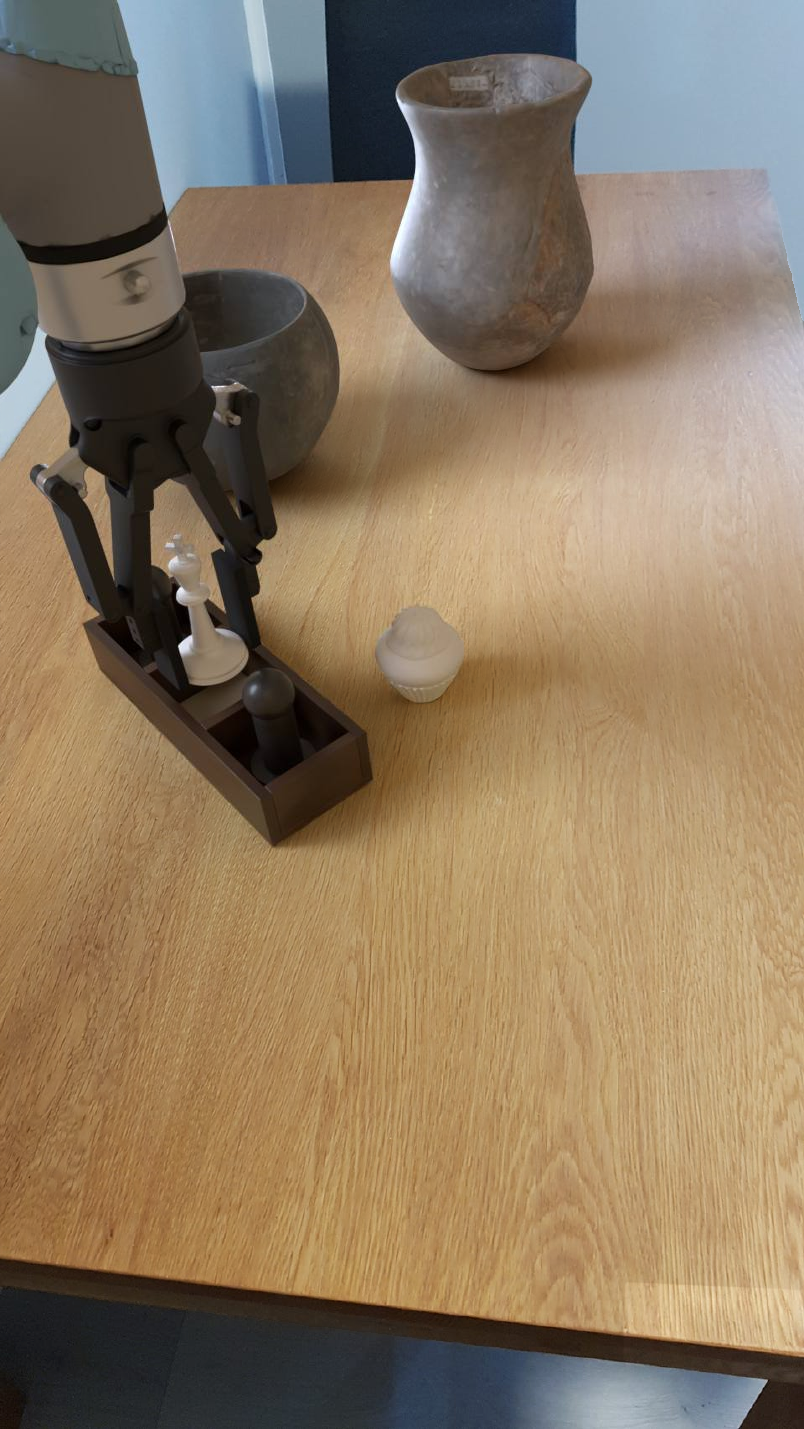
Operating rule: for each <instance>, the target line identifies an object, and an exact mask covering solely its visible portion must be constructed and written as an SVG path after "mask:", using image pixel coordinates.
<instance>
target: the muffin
mask: <svg viewBox="0 0 804 1429" xmlns="http://www.w3.org/2000/svg"><path fill="white" fill-rule="evenodd" d="M374 656H375V661H376V664H377V666H378V668H379V670H380V671H381V672H382V675H383V677H384V678H386V681H387V682H388V683H389V684H390V685H391V686H392V687H393V688H394V689H395V690H396V691H397V692H398V693H399V694H400V695H401V696H402V697H404V699H405V700H409V701H410V702H414V703H418V704H425V703H429V702H434V701H435V700H437V699H438V698H441V697H442V696H443V694H444V693H445V692H446V691H447V689H448V688H449V686H450V685H451V683H452V681H453V680H454V679H455V677H456V676H457V675H458V673H459V670H460V668H461V665H462V663H463V661H464V657H465V645H464V640H463V639H462V636H461V634H460V633H459V631H458V630H457V629H456V628H455V626H453V625H451V624H450V623H448V622H447V621H445V620H444V617H442V615H441V614H440V613H439V612H438V610H436V609H434V608H432V607H430V606H428V605H420V604H416V605H415V606H413V605H409V606H408V607H407V608H402V609H401V610H400V612H397V613H396V614H395V615H394V619H393V620H392V621H391V623H390V626H388V627H386V629H385V630H384V631H383V632H382V633H381V634H380V636H379V637H378V640H377V642H376V645H375V649H374Z"/></svg>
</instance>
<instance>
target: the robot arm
mask: <svg viewBox="0 0 804 1429" xmlns="http://www.w3.org/2000/svg"><path fill="white" fill-rule="evenodd" d="M138 74H140V72H139V67H138V63H137V61H136V60H135V58H134V55H133V52H132V48H131V45H130V41H129V38H128V33H127V30H126V27H125V23H124V19H123V15H122V13H121V9H120V4H119V2H118V0H0V396H1V395H2V394H3V393H5V392H6V390H7V389H9V388H10V386H11V385H12V384H13V383H14V382H15V380H16V379H17V378H18V377H19V375H20V373H21V372H22V370H23V369H24V367H25V366H26V364H27V361H28V360H29V358H30V355H31V353H32V350H33V345H34V343H35V340H36V339H35V338H36V334H37V330H38V328H39V330H41V331H42V332H43V333H44V334H46V336H45V338H44V347H45V351H46V353H47V356H48V358H49V363H50V365H51V368H52V370H53V374H54V377H55V380H56V383H57V386H58V389H59V392H60V395H61V399H62V401H63V404H64V406H65V409H66V412H67V414H68V417H69V423H70V424H69V433H68V446H69V449H67V450H66V451H65V452H64V453H63V454H62V455H60V456H59V458H57V459H56V460H55V461H54V462H53V463H52V464H51V465H50V466H48V465H47V464H46V463H42V462H41V463H37V464H36V465H35V464H34V465H33V467H32V468H31V469H30V472H29V479H30V481H31V483H32V484H34V486H35V487H36V488H37V489H38V490H39V491H40V492H41V494H42V495H43V496H44V497H45V498H46V499H47V500H48V501H49V502H50V505H51V507H52V510H53V513H54V516H55V518H56V521H57V525H58V527H59V529H60V532H61V535H62V538H63V541H64V544H65V546H66V550H67V552H68V555H69V557H70V560H71V563H72V565H73V568H74V570H75V574H76V577H77V579H78V582H79V586H80V588H81V591H82V594H83V596H84V599H85V601H86V603H87V604H89V605H90V606H91V608H92V609H93V610H95V612H97V613H98V615H101V616H102V617H103V618H104V619H105V620H106V621H107V622H109V623H115V622H117V621H119V620H120V619H121V618H122V617H123V616H125V617H126V619H127V622H128V625H129V628H130V631H131V634H132V637H133V640H134V641H135V642H136V643H137V644H138V645H140V646H141V647H142V648H143V649H144V650H145V651H146V652H147V653H148V654H149V655H150V654H152V653H153V654H154V657H155V660H156V663H157V666H158V669H159V671H160V672H161V673H162V674H163V675H164V676H165V677H166V678H167V679H168V680H169V681H170V682H171V683H172V684H173V685H174V686H175V687H176V688H177V689H178V690H179V691H182V690H184V689H185V688H187V687H189V686H190V683H189V680H188V677H187V673H186V670H185V667H184V664H183V660H182V657H181V654H180V651H179V647H178V644H177V641H176V638H175V634H174V631H173V628H172V625H171V621H170V618H169V615H168V611H167V608H166V607H165V606H164V605H163V604H161V603H160V602H159V601H158V600H157V599H156V598H155V597H153V596H152V566H151V565H152V537H151V535H152V534H151V512H152V511H154V509H155V490H157V489H158V488H159V487H160V486H162V485H163V484H164V483H165V482H167V481H168V480H171V479H172V478H177V477H181V478H182V480H183V481H184V483H185V485H184V486H185V487H186V488H187V490H188V491H189V493H190V495H191V497H192V499H193V500H194V502H195V503H196V505H197V507H198V509H199V510H200V512H201V514H202V515H203V517H204V519H205V521H206V522H207V524H208V525H209V527H210V529H211V531H212V532H213V534H214V536H215V537H216V540H217V541H218V542H219V543H220V545H221V546H223V548H221V547H220V548H217V549H215V550H214V551H212V552H210V557H211V560H212V564H213V565H212V566H213V568H214V572H215V576H216V580H217V583H218V588H219V591H220V595H221V599H222V603H223V606H224V612H225V613H226V615H227V619H228V623H229V627H230V630H231V631H232V632H234V633H236V634H238V635H239V636H240V637H241V638H242V639H243V641H244V642H245V643H246V644H247V645H248V646H249V647H250V648H252V649H255V648H256V647H258V646H260V645H262V644H263V642H262V638H261V634H260V630H259V629H260V628H259V624H258V621H257V617H256V616H257V615H256V612H255V608H254V604H253V600H252V598H254V597H256V596H258V595H260V592H261V582H260V578H259V574H258V569H257V566H258V565H259V564H261V562H262V559H263V556H264V555H263V551H261V550H260V549H259V548H258V546H259V545H260V544H261V543H262V542H264V541H270V540H272V539H274V538H275V536H276V535H277V533H278V523H277V519H276V516H275V515H276V514H275V510H274V505H273V500H272V495H271V491H270V490H271V489H270V486H269V485H270V484H269V481H267V476H266V471H265V466H264V462H263V457H262V452H261V447H260V443H259V438H258V433H257V425H258V416H259V407H260V398H259V396H258V394H256V393H255V392H253V391H252V390H250V389H248V388H246V387H245V386H243V385H242V384H240V383H238V382H237V381H235V380H233V379H230V378H229V379H225V380H224V381H223V382H222V383H221V385H220V386H215V387H211V386H210V385H209V384H208V383H207V382H206V381H205V379H204V377H203V365H202V360H201V356H200V352H199V347H198V343H197V338H196V334H195V330H194V325H193V321H192V317H191V314H190V312H189V310H188V309H187V308H186V307H185V306H183V304H184V302H185V293H186V292H185V288H184V283H183V279H182V275H181V274H182V271H181V266H180V262H179V257H178V253H177V249H176V244H175V239H174V236H173V232H172V226H171V223H170V219H169V216H168V214H167V208H166V205H165V202H164V198H163V192H162V189H161V183H160V179H159V173H158V169H157V164H156V159H155V155H154V149H153V144H152V140H151V135H150V131H149V130H150V129H149V125H148V120H147V116H146V112H145V107H144V106H145V105H144V102H143V96H142V91H141V87H140V83H139V77H138ZM212 416H214V418H215V419H216V420H218V428H219V433H220V437H221V441H222V445H223V450H224V454H225V458H226V462H227V466H228V471H229V475H230V479H231V483H232V487H233V490H232V491H233V495H234V499H235V500H234V501H235V503H236V508H237V511H236V510H235V508H234V506H233V504H232V503H231V500H230V499H229V497H228V495H227V494H226V493H227V492H226V491H224V490H223V488H222V486H221V484H220V483H219V481H218V479H217V477H216V474H217V472H216V470H215V468H214V467H213V465H212V463H211V461H210V459H209V458H208V456H207V454H206V452H205V450H204V449H203V447H202V446H203V443H204V440H205V437H206V434H207V431H208V428H209V425H210V422H211V419H212ZM89 468H91V469H92V470H94V471H95V472H97V473H99V474H100V475H101V476H103V477H104V488H105V492H106V495H107V496H108V499H109V510H110V511H109V512H110V529H111V531H110V532H111V548H112V562H113V563H112V567H113V568H112V569H113V574H112V571H111V568H110V564H109V562H108V559H107V556H106V553H105V550H104V546H103V543H102V541H101V537H100V535H99V531H98V529H97V525H96V523H95V520H94V517H93V514H92V512H91V510H90V508H89V507H88V505H87V503H86V502H85V501H84V499H86V498H87V497H88V494H89V492H88V489H87V488H88V485H87V482H86V479H85V473H86V472H87V469H89ZM237 512H238V513H237Z"/></svg>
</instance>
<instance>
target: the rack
mask: <svg viewBox="0 0 804 1429" xmlns="http://www.w3.org/2000/svg"><path fill="white" fill-rule="evenodd" d="M169 578H170V581H171V584H172V593H171V599H172V602H173V606H174V609H175V612H176V616H177V619H178V623H179V626H180V629H181V633H182V634H186V635H188V636H190V635H192V630H191V622H190V614H189V609H188V606H184V605H181V604H180V603H178V601H177V599H176V594H177V591H178V589H179V588H180V587H181V586H180V585H179V583H178V581H177V580H176V579H175V578H174V577H173V576H171V577H169ZM204 604H205V607H206V609H207V612H208V614H209V616H210V619H211V621H212V623H213V625H214V627H215V629H226V630H230V627H229V623H228V619H227V615H226V611H224V610H222V609H221V608H220V607H219V606H218V605H216V604H215V603H214V602H213V601H212V600H211V599H210V598H208V599H207V600H206V601H205V602H204ZM82 626H83V629H84V631H85V634H86V637H87V639H88V643H89V645H90V648H91V650H92V653H93V656H94V658H95V661H96V663H97V666H98V669H99V671H100V672H101V673H102V674H103V675H104V676H105V677H106V678H107V679H108V680H109V681H110V682H111V683H112V684H113V685H114V686H115V687H116V688H117V689H118V690H119V691H120V692H121V693H122V695H123V696H125V698H127V700H129V702H130V703H132V705H134V706H135V708H136V709H137V710H138V711H139V712H140V713H141V714H142V715H143V716H144V717H145V718H146V719H147V720H148V721H149V722H150V723H151V724H152V725H153V726H154V728H156V729H157V730H158V732H160V733H161V735H163V737H165V738H166V739H167V741H169V743H171V745H172V746H174V748H176V750H177V751H178V752H179V753H180V754H181V755H182V756H183V757H184V758H185V759H186V760H187V761H188V762H189V763H190V764H191V765H192V767H194V768H195V769H196V770H197V771H198V772H199V773H200V774H201V775H202V776H203V778H204V779H205V780H207V781H208V783H209V784H211V786H212V787H214V789H216V791H217V792H218V793H219V794H220V795H221V796H222V797H223V798H224V799H225V800H227V802H228V803H229V804H230V805H231V806H232V808H234V809H235V810H236V811H237V812H238V814H240V815H241V816H242V817H243V818H244V820H246V821H247V822H248V824H250V826H251V827H252V828H254V830H255V831H256V832H257V833H258V834H259V835H260V836H261V837H262V838H263V839H264V840H265V841H266V842H267V843H268V844H269V845H270V846H271V847H272V848H274V847H276V846H278V845H279V844H281V843H282V842H283V841H285V840H286V839H288V838H289V837H291V836H293V835H294V834H295V833H297V832H298V831H300V830H302V828H304V827H306V826H307V825H309V824H311V822H313V821H315V820H316V819H317V818H319V817H320V816H322V815H323V814H325V813H326V812H328V811H330V810H331V809H333V808H334V807H335V806H337V805H338V804H340V803H341V802H343V801H345V800H346V799H347V798H349V797H350V796H352V795H353V794H355V793H356V792H358V791H359V790H361V789H362V788H364V787H366V786H367V785H368V784H370V783H371V782H372V781H374V775H373V766H372V760H371V754H370V747H369V739H368V733H367V731H366V730H365V729H364V728H362V727H361V725H359V723H356V722H355V721H354V720H353V719H352V718H351V717H350V716H348V715H347V714H346V713H345V712H344V711H342V710H341V709H340V708H339V707H337V705H335V704H334V703H333V702H332V701H330V700H329V699H328V697H326V696H324V694H322V693H321V692H320V691H319V690H318V689H316V688H315V687H314V686H312V684H310V683H309V682H308V681H307V680H306V679H304V678H303V677H302V676H301V675H299V674H298V673H297V672H296V671H295V670H294V669H292V667H290V666H289V665H288V664H286V662H284V661H283V660H282V659H281V658H279V657H278V656H277V654H275V653H274V652H272V651H271V649H269V648H267V647H266V646H265V645H264V644H263V643H262V645H260V646H258V647H256V648H255V649H252V648H250V647H249V646H248V645H247V644H246V643H245V642H244V643H245V645H246V647H247V649H248V660H247V663H246V665H245V667H244V668H243V669H242V670H241V671H240V672H239V673H238V674H237V675H236V676H234V677H233V678H231V679H229V680H227V681H225V682H222V683H219V684H214V685H207V686H201V685H194V684H190V686H189V687H187V688H185V689H184V690H182V691H179V690H178V689H177V688H176V687H175V686H174V685H173V684H172V683H171V682H170V681H169V680H168V679H167V678H166V677H165V676H164V675H163V674H162V673H161V672H160V671H159V669H158V666H157V663H156V661H155V662H153V663H151V664H149V665H148V666H146V667H144V668H142V667H141V666H140V663H139V654H140V651H141V650H142V647H141V646H140V645H138V644H137V643H136V642H135V641H134V640H133V637H132V634H131V631H130V628H129V625H128V622H127V619H126V617H125V616H123V617H122V618H121V619H120V620H119V621H117V622H115V623H109V622H107V621H106V620H105V619H104V618H103V617H102V616H101V615H100V614H98V615H96V616H94V617H92V618H91V619H88V620H86V621H85V622H82ZM230 631H231V630H230ZM264 668H272V669H277V670H279V671H281V672H283V673H284V674H285V675H287V676H288V677H289V679H290V680H291V682H292V684H293V686H294V691H295V698H294V703H293V709H294V714H295V719H296V723H297V728H298V733H299V737H300V738H303V739H305V740H307V741H308V742H310V743H311V744H312V745H313V746H314V748H315V749H316V751H317V753H315V754H314V755H312V756H311V757H309V758H307V759H306V760H304V761H303V762H301V763H300V764H298V765H297V766H295V767H293V768H292V769H290V770H289V771H287V772H286V773H284V774H282V775H281V776H279V777H278V778H276V779H275V780H273V781H272V782H270V783H268V784H267V785H265V786H263V785H262V784H261V783H260V782H259V781H258V780H257V779H256V778H255V777H254V776H253V775H252V772H251V767H250V763H251V759H252V756H253V754H254V753H255V751H256V750H257V749H258V748H259V747H260V746H259V743H258V739H257V735H256V731H255V727H254V723H253V719H252V715H251V714H250V713H249V712H248V710H247V709H246V707H245V706H244V703H243V699H242V689H243V686H244V683H245V681H246V680H247V678H248V677H249V676H250V675H251V674H252V673H254V672H255V671H257V670H260V669H264Z"/></svg>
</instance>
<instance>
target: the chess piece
mask: <svg viewBox="0 0 804 1429" xmlns="http://www.w3.org/2000/svg"><path fill="white" fill-rule="evenodd" d="M171 539H172V542H166V543H165V546H164V549H165V552H166V554H176V556H174V557H173V558H172V559H171V560H170V561H169V563H168V566H167V568H168V571H169V573H170V574H171V576H172V577H174V578H175V579H176V580H177V581H178V583H179V585H180V586H181V587H180V588H179V589H178V591H177V594H176V599H177V601H178V603H180V604H181V605H184V606H188V609H189V614H190V622H191V630H192V635H190V636H189V637H187V638H186V639H185V640H183V641H182V642H181V643H180V644H179V646H178V647H179V651H180V654H181V657H182V660H183V664H184V667H185V670H186V673H187V677H188V680H189V683H190V684H194V685H201V686H207V685H214V684H219V683H222V682H225V681H227V680H229V679H231V678H233V677H234V676H236V675H237V674H238V673H239V672H240V671H241V670H242V669H243V668H244V667H245V665H246V663H247V660H248V649H247V647H246V645H245V643H244V641H243V639H242V638H241V637H240V636H239V635H238V634H236V633H234V632H232V631H230V630H226V629H215V627H214V625H213V623H212V621H211V619H210V616H209V614H208V612H207V609H206V607H205V604H204V602H205V601H206V600H207V599H210V596H211V590H210V588H209V586H208V585H207V584H205V583H204V582H201V570H202V560H201V557H199V555H197V554H195V551H196V546H195V544H194V543H185V542H184V539H183V535H182V534H174V535H173V536H172V538H171Z"/></svg>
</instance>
